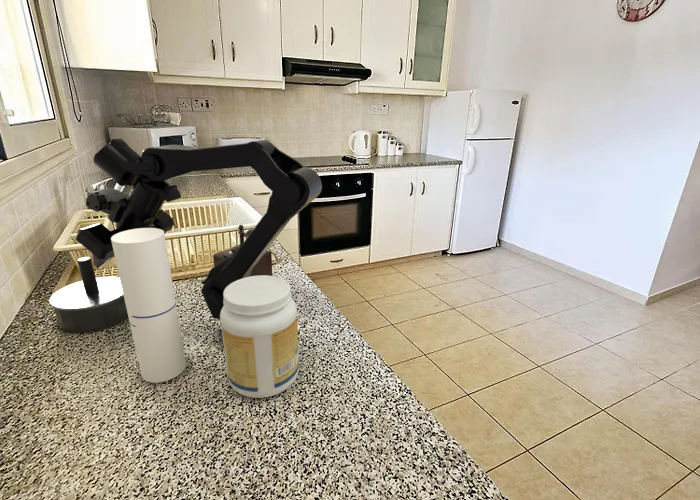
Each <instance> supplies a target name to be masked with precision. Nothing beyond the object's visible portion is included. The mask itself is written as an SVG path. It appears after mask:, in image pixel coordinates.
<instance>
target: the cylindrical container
mask: <svg viewBox="0 0 700 500" xmlns="http://www.w3.org/2000/svg"><path fill="white" fill-rule="evenodd" d="M165 234H166V233H165ZM165 234H164V231H163V230H161V229H157V228H138V229H131V230H127V231H123V232H120V233H117V234H115V235H113V236H112V237H111V241H112V246H113V250H114V255H115V257H114V258H115V263H116V267H117V271H118V277H120V281H121V286H122V290H123V295H124V299H125V304H126V308H127V313H128V317H127V318H128V321H129V326H130V331H131V336H132V340H133V343H134V344H133V345H134V349H135V353H136V357H137V362H138V366H139V371H140V375H141V378H142V380H144V381H145V382H147V383H153V384H158V383H165V382H168V381H170V380H173V379H175V378H176V377H178V376H180V375H181V374H182V373H183V372H184V371H185V369H186V367H187V361H186V356H185V355H186V354H185V349H184V343H183V342H184V341H183V336H182V331H181V325H180V319H179V313H178V308H177V307H178V306H177V301H176V296H175V290H174V283H173V276H172V271H171V265H170V264H171V263H170V259H169V253H168V247H167V241H166V235H165Z"/></svg>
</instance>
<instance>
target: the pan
mask: <svg viewBox="0 0 700 500" xmlns="http://www.w3.org/2000/svg"><path fill="white" fill-rule="evenodd" d="M53 310H54V313H55V316H56V320H57V322H58V326H59V327H60V329H62V330H63V331H65V332H68V333H75V334H81V333H92V332H96V331H97V332H98V331H100V330H105V329H107V328H110V327H113V326H115V325H117V324H119V323H121V322H123V321H124V320H126V319H127V318H129V317H128V313H127V308H126V304H125V299H124V296H123V297H122V298H120V299H118V300H116V301H114V302H111V303H109V304H106V305H103V306H100V307H96V308H91V309H85V310H77V311H65V310H58V309H55V308H53Z"/></svg>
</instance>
